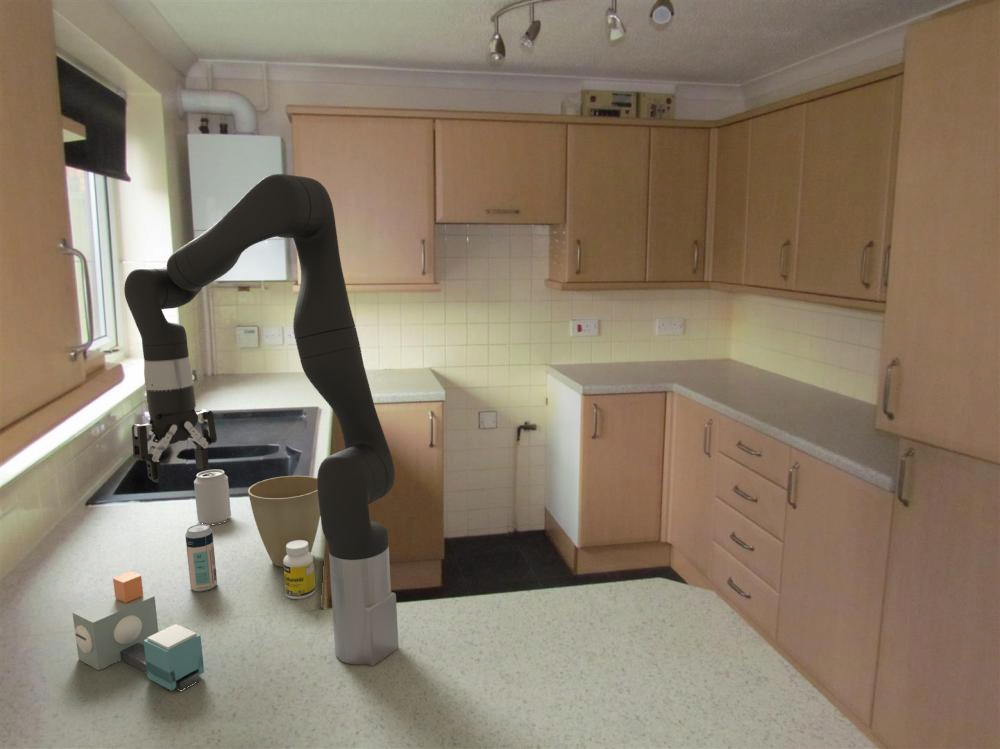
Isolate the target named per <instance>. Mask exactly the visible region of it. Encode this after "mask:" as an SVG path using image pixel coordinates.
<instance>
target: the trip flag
mask: <svg viewBox="0 0 1000 749" xmlns="http://www.w3.org/2000/svg"><path fill="white" fill-rule="evenodd" d="M112 582H113V583H112V584H113V589H114V595H115V599H118V600H120V601H122V602H124V603H127V602H129V601H132V600H134V599H136V598H139V597H141V596H143V591H144V589H143V588H144V587H143V580H142V574H138V573H136V572H133V571H131V570H130V571H128V572H125V573H123V574H120V575H117V576H115V577H113V578H112Z"/></svg>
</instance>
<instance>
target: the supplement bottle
mask: <svg viewBox="0 0 1000 749" xmlns="http://www.w3.org/2000/svg"><path fill="white" fill-rule="evenodd" d="M308 551H309V546H308V542H307V541H304V540H296V541H292V542H289V543H288V544H287V545H286V552H287V555H286V556H285V557H284V560H283V565H284V567H283V573H284V575H283V576H284V589H285V596H286V597H287V598H289V599H291V600H301V599H302V600H303V599H306V598H310V596H313V594H314V593H315V592H316V579H315V577H316V576H315V565H314V564H315V563H314V556H313V554H312V552H311V553H310V552H308Z"/></svg>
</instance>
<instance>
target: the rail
mask: <svg viewBox="0 0 1000 749" xmlns="http://www.w3.org/2000/svg"><path fill="white" fill-rule="evenodd" d="M120 655H121V660H120V661H122V660H123V662H124V661H125V662H124V663H126V662H127V663H126V664H128V663H129V664H128V665H130V664H131V665H130V666H132V665H133V666H134V668H135V667H136V669H137V668H139V669H140V671H141V670H142V671H141V672H143V673H145V672H146V673H145V674H147V667H146V659H145V650H144V645H142V644H140V643H136V644H134V645H132V646H130V647H128V648H126V649H124V650H122V651H120ZM133 666H132V667H133ZM139 669H138V670H139ZM198 681H200V675H199V672H197V671H193V672H191V673H189V674H187V675H186V676H184V677H182V678H180V679H178V680H176V688H177V689H179V690H183V689H184V688H187V687H188V686H190V685H192V684H194V683H195V682H198ZM198 683H199V682H198ZM194 685H195V684H194ZM177 689H176V690H177ZM187 689H188V688H187ZM179 690H178V691H179Z"/></svg>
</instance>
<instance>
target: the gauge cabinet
mask: <svg viewBox="0 0 1000 749" xmlns="http://www.w3.org/2000/svg"><path fill="white" fill-rule="evenodd" d="M72 618H73V625H74V636H75V640H76V641H75V642H76V649H77V658H78V660H79V661H81V662H83V663H84V664H87V665H88V666H90V667H91V666H92V667H91V668H93V669H94V670H96V671H98V670H99V671H101V670H103V669H105V667H106V668H108V667H110V666H111V664H112V665H114V664H116V663H117V662H116V661H118V662H119V660H120V661H122V660H121V655H120V651H122V650H124V649H126V648H128V647H130V646H132V645H134V644H136V643H140V644H142V645H144V641H143V640H145V639H147V637H149V636H151V635H153V634H155V633H158V632H159V625H158V615H157V606H156V598H155V595H153V594H150V593H148V592H146V591H144V590H143V596H141V597H139V598H136V599H134V600H132V601H129V602H127V603H124V602H122V601H120V600H118V599H115V594H114V595H113V596H110V597H107V598H105V599H102V600H100V601H97V602H95V603H93V604H91V605H88V606H85V607H83V608H80V609H78V610H76V611H73V612H72ZM115 662H116V663H115ZM113 663H114V664H113ZM109 665H110V666H109ZM107 666H108V667H107ZM100 669H101V670H100Z"/></svg>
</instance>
